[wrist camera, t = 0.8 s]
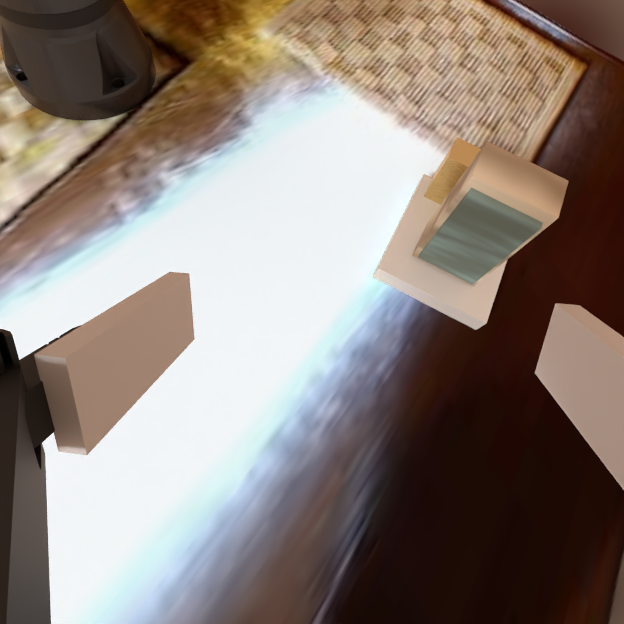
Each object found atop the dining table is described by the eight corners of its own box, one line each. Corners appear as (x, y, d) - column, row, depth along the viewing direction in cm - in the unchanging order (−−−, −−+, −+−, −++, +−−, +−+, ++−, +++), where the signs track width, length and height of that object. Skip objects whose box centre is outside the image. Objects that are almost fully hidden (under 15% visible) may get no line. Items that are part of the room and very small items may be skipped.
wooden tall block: (472, 291, 40) (556, 223, 29) (409, 259, 40) (469, 181, 29) (484, 256, 42) (568, 180, 31) (424, 227, 42) (486, 141, 31)
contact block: (505, 236, 43) (542, 203, 38) (423, 196, 44) (448, 157, 38) (511, 217, 44) (548, 181, 39) (432, 177, 45) (457, 137, 39)
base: (475, 329, 41) (486, 323, 39) (372, 277, 41) (378, 268, 40) (509, 231, 46) (519, 221, 44) (417, 185, 47) (424, 174, 45)
